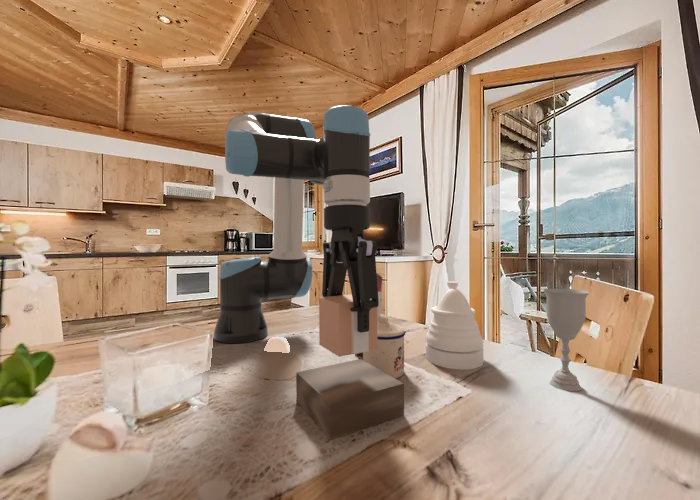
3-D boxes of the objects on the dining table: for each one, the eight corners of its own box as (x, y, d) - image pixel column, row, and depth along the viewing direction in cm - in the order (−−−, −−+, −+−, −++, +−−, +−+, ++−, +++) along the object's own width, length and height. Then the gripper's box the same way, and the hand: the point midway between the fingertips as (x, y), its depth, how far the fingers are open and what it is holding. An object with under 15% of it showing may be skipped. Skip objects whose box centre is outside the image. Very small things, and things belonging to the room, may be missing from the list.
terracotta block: (319, 344, 55) (319, 297, 55) (355, 338, 59) (354, 294, 58) (339, 356, 49) (338, 303, 49) (377, 349, 53) (377, 299, 52)
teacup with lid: (404, 382, 64) (404, 323, 64) (358, 379, 66) (358, 321, 66) (406, 361, 75) (406, 311, 75) (367, 358, 77) (367, 309, 77)
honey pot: (424, 349, 84) (424, 279, 84) (476, 351, 82) (476, 280, 82) (428, 367, 72) (427, 285, 71) (489, 371, 70) (489, 286, 69)
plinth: (296, 401, 56) (296, 372, 56) (360, 384, 63) (360, 359, 63) (330, 439, 45) (330, 403, 45) (404, 415, 52) (403, 383, 52)
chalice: (539, 385, 62) (539, 291, 62) (547, 374, 67) (547, 287, 67) (586, 397, 57) (586, 294, 57) (591, 385, 62) (591, 290, 62)
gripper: (302, 210, 60) (303, 334, 61) (359, 195, 43) (360, 369, 43) (338, 212, 64) (339, 329, 64) (403, 199, 47) (404, 359, 47)
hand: (347, 345), depth 54 cm, fingers closed on terracotta block, 7 cm apart
